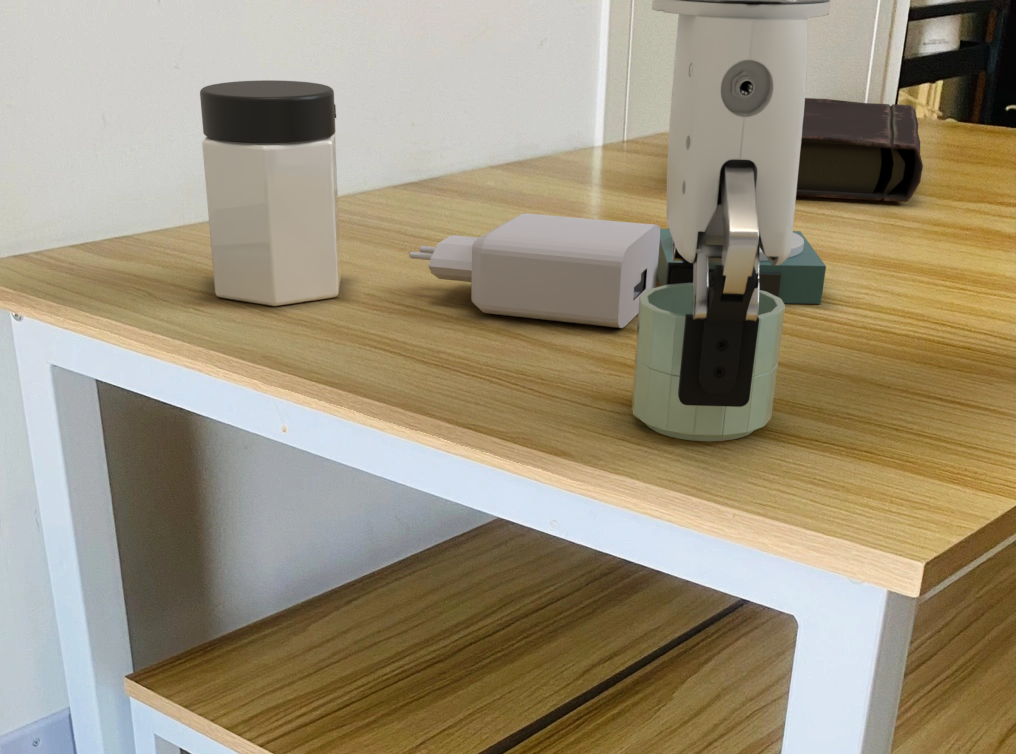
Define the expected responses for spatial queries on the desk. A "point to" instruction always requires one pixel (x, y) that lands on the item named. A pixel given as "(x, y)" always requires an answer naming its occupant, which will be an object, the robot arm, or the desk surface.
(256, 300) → the jar
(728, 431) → the cup
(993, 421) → the desk surface
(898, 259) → the desk surface
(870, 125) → the diary
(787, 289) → the scale
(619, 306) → the charger
